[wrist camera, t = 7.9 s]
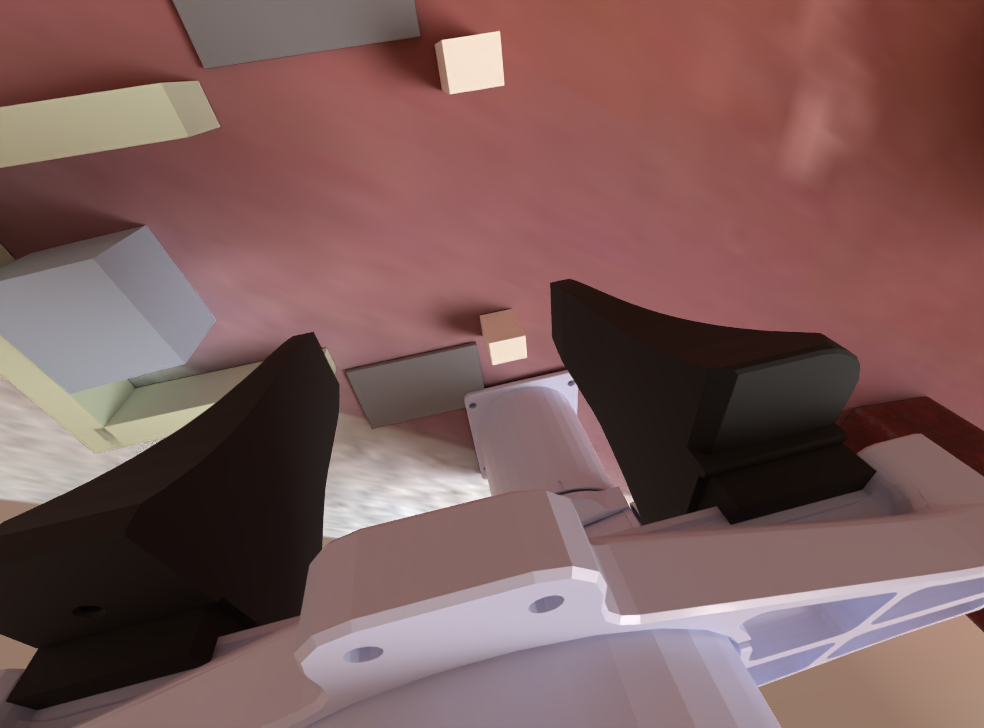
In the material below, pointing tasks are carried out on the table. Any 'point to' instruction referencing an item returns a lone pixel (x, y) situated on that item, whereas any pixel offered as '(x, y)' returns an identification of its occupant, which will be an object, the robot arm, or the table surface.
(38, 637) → the robot arm
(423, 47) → the table surface
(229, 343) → the table surface
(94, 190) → the table surface
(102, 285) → the block
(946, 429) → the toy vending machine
